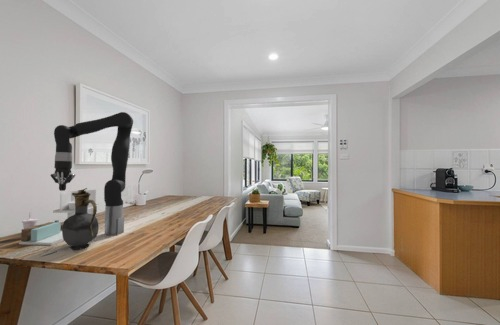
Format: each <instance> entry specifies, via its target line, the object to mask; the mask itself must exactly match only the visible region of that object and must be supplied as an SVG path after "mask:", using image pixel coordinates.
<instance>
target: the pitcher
mask: <svg viewBox="0 0 500 325" xmlns="http://www.w3.org/2000/svg"><path fill="white" fill-rule="evenodd" d="M85 190H88V188H87V187H86V188H84V189H79V190H77V191H79V192H78V193H72V195H73V196H74V197H75V215H73V216H70V217H69V218H66V219H65V220H64V222H63V224H62V226H61V227H62V229H61V231H62V235H63V240H64V242H65V243H66V244H67V245H69V246H70V249H71V250H72V251H78V250H79V251H80V250H84V249H87V248H89V247H90V244H89V243H91V242H92V241H94V240H95V239H96V238H97V236H98V233H99V221H98V218H97V217H96V214H97V211H98V210H97V206H96V201H95V202H94V200H89V196H90V195H91V194H89V193H88V192H86V191H85ZM89 203H91V204H92V205H93V215H92V214H88V213H87V210H88V205H89Z"/></svg>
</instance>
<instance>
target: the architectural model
mask: <svg viewBox="0 0 500 325" xmlns="http://www.w3.org/2000/svg"><path fill="white" fill-rule="evenodd" d="M84 191H86V192H88V193H89V194H91V195H90V196H89V200H94V202H95V203H96V200H97V199H96V198H97V197H96V195H97V190H96V189H89V190H88V189H85V190H84ZM78 192H79V191H78V190H75V191H65V192H60V195H59V196H60V198H59V199H60V200H59V209H53V211H52V213H53V214H54V213H55V214H57V213H58V214H59V213H60V214H61V213H62V214H63V213H64V214H65V213H67V214H66V215H67V218H69V217H70V216H73V215H75V197H74V196H73V195H72V193H78ZM96 206H97V207H98V206H99V204H96ZM87 213H88V214H92V215H93V205H92V204H91V203H89V205H88V210H87ZM67 218H66V219H67Z"/></svg>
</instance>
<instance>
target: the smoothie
mask: <svg viewBox="0 0 500 325" xmlns="http://www.w3.org/2000/svg"><path fill="white" fill-rule="evenodd" d="M28 214H29V215H28V216H29V217H28V219H23V220H22V221H21V223H22V226H23V229H26V228H29V227H33V226H37V223H38V221H39V219H38V218H31V216H32V215H31V214H32V212H31V211H30V212H29V213H28Z"/></svg>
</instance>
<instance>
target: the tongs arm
mask: <svg viewBox="0 0 500 325" xmlns="http://www.w3.org/2000/svg"><path fill="white" fill-rule="evenodd" d="M61 225H62V223H61V221H60V220H59V219H57V220H54V223H52V224H48V225H45V226H42V227H38V228H35V229H32V230H31V241H39V240H41V239H44V238H47V237H50V236H52V235H55V234H58V233H60V231H61V230H62V229H61V227H62V226H61Z"/></svg>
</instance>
